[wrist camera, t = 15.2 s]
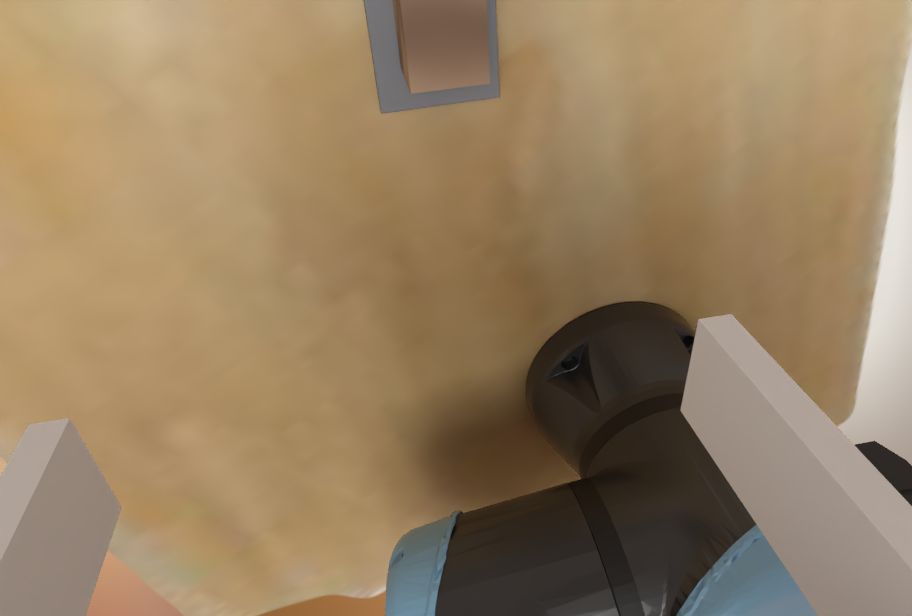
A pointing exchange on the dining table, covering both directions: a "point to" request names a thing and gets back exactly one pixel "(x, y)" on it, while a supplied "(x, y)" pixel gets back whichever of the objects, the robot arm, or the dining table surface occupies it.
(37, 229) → the dining table surface
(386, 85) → the tool rest mat
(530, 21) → the dining table surface
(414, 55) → the walnut bar
